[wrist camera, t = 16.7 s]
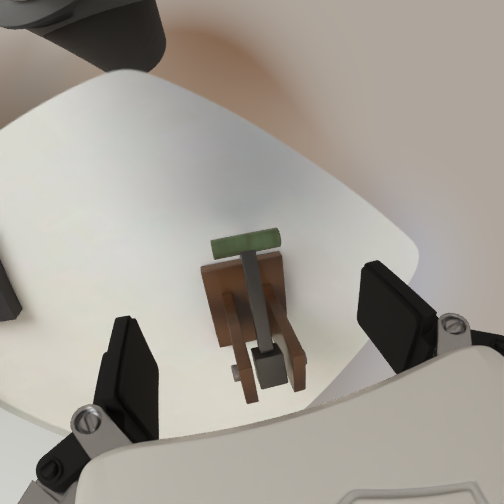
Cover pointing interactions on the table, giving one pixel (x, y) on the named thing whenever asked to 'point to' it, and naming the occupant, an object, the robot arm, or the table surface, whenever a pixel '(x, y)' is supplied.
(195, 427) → the table surface
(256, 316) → the light lever
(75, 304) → the table surface
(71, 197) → the table surface
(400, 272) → the table surface
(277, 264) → the lever bracket
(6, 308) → the button block
